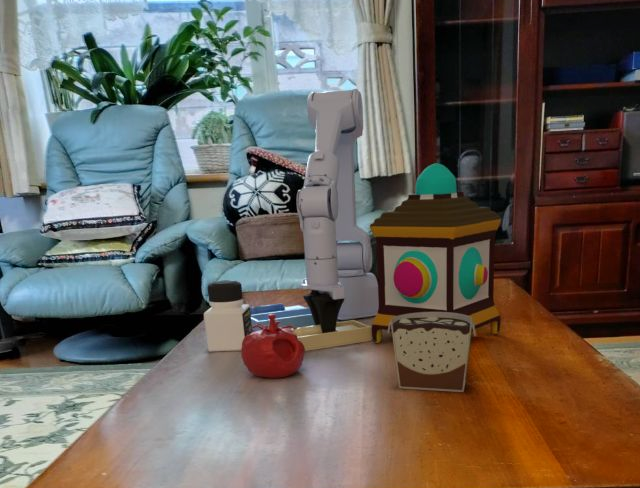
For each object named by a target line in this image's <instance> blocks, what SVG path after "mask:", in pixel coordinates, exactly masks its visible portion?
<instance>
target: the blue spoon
mask: <svg viewBox="0 0 640 488" xmlns="http://www.w3.org/2000/svg"><path fill="white" fill-rule="evenodd" d="M301 308H306V307H305V306H303V305H292V306H285V304H283V303H272V304H266V305H265V304H264V305H257V306H252V307H251V306H250V314H251V315H255V314H262V313H270V312H278V311H285V310H293V309H301Z"/></svg>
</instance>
